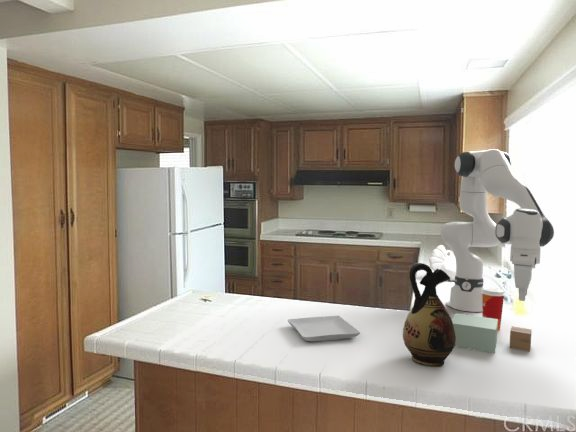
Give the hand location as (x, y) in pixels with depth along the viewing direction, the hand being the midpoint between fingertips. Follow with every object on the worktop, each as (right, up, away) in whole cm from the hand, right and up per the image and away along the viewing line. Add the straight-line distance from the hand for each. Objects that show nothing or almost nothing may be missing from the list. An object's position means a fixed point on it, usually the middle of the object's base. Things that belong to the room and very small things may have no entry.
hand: (522, 297), depth 149 cm
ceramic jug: (-37, -17, -13) cm, 43 cm away
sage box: (-15, -17, +4) cm, 23 cm away
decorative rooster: (+16, -11, +117) cm, 119 cm away
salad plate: (-67, -16, +11) cm, 69 cm away
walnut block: (0, -17, +1) cm, 17 cm away
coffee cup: (-1, -16, +21) cm, 27 cm away
